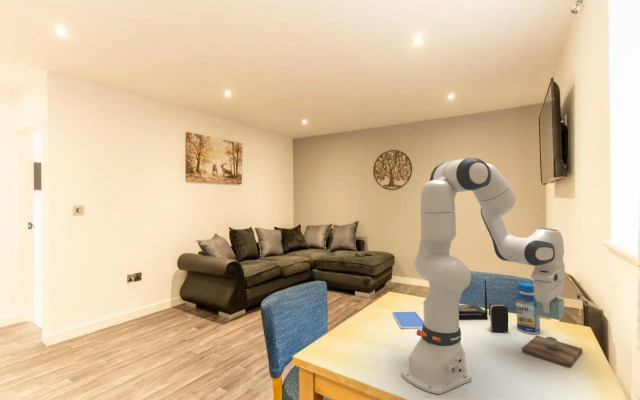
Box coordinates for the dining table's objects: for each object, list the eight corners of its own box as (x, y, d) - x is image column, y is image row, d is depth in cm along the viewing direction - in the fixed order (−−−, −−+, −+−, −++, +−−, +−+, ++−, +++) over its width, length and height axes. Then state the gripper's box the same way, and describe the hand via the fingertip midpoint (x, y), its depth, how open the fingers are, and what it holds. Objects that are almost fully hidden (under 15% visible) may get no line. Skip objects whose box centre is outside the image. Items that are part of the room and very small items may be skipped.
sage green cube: (559, 320, 105) (558, 303, 105) (537, 315, 110) (537, 298, 110) (564, 315, 109) (563, 299, 109) (543, 310, 114) (542, 295, 114)
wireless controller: (454, 322, 139) (453, 285, 139) (443, 311, 153) (442, 278, 153) (498, 322, 138) (497, 285, 138) (483, 311, 152) (481, 277, 152)
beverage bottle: (545, 334, 124) (544, 286, 124) (524, 334, 124) (523, 286, 124) (531, 326, 132) (530, 280, 132) (512, 326, 132) (511, 281, 132)
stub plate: (570, 368, 99) (569, 353, 99) (521, 352, 110) (521, 338, 110) (582, 352, 109) (581, 338, 109) (536, 339, 120) (536, 326, 120)
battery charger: (504, 329, 130) (503, 302, 130) (509, 332, 126) (508, 305, 126) (487, 328, 130) (487, 302, 130) (492, 332, 127) (491, 305, 127)
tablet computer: (391, 314, 152) (391, 311, 152) (416, 313, 151) (416, 311, 151) (400, 330, 132) (400, 327, 132) (429, 329, 132) (429, 326, 132)
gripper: (547, 266, 118) (549, 301, 118) (529, 275, 106) (530, 314, 106) (568, 269, 113) (569, 305, 113) (551, 278, 101) (552, 319, 101)
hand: (550, 309), depth 109 cm, fingers closed on sage green cube, 6 cm apart
